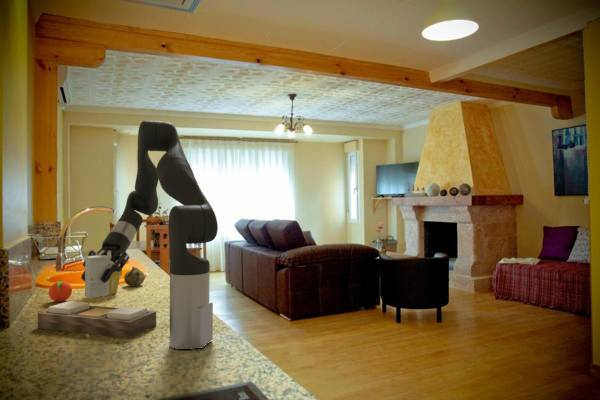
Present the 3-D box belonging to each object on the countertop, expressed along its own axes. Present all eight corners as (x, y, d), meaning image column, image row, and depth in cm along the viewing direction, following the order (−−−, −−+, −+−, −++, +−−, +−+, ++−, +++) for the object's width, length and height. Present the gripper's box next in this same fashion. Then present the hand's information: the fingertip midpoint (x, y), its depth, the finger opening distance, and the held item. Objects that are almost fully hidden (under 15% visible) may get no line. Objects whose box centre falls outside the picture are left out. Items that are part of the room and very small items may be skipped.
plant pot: (88, 297, 149) (88, 270, 149) (94, 291, 159) (94, 265, 159) (119, 296, 151) (119, 268, 151) (123, 290, 161) (123, 264, 161)
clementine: (70, 303, 140) (70, 282, 140) (46, 305, 137) (46, 283, 137) (73, 298, 147) (73, 278, 147) (50, 300, 145) (50, 279, 145)
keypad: (156, 325, 115) (156, 311, 115) (129, 338, 105) (129, 322, 105) (70, 317, 123) (70, 303, 123) (37, 328, 113) (37, 313, 113)
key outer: (89, 309, 119) (89, 302, 119) (69, 315, 112) (69, 308, 112) (69, 307, 121) (69, 301, 121) (48, 313, 114) (48, 306, 114)
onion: (149, 285, 172) (149, 265, 172) (132, 288, 165) (132, 268, 165) (137, 283, 176) (137, 264, 176) (120, 286, 169) (120, 266, 169)
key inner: (147, 314, 114) (147, 307, 114) (129, 321, 107) (129, 314, 107) (125, 312, 116) (125, 306, 116) (106, 319, 109) (107, 312, 109)
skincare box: (88, 298, 125) (89, 257, 125) (84, 295, 128) (84, 256, 128) (110, 295, 129) (110, 255, 129) (105, 292, 132) (105, 254, 132)
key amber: (117, 316, 116) (117, 309, 116) (98, 323, 110) (98, 316, 110) (96, 314, 118) (96, 307, 118) (77, 321, 111) (77, 314, 112)
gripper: (96, 230, 138) (66, 272, 126) (133, 231, 134) (106, 274, 123) (107, 244, 143) (80, 286, 132) (143, 246, 139) (119, 289, 128)
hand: (93, 280), depth 127 cm, fingers closed on skincare box, 6 cm apart
